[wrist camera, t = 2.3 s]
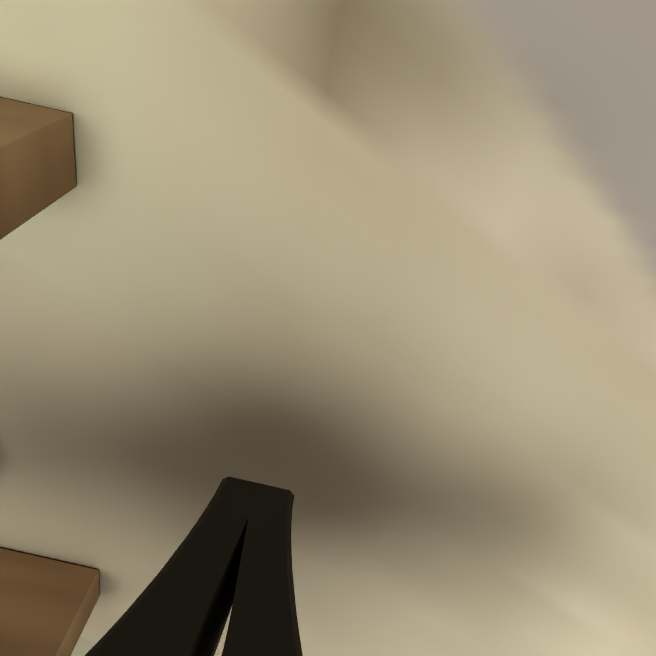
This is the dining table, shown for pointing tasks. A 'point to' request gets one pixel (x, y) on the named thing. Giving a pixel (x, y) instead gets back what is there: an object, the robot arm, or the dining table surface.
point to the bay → (3, 217)
